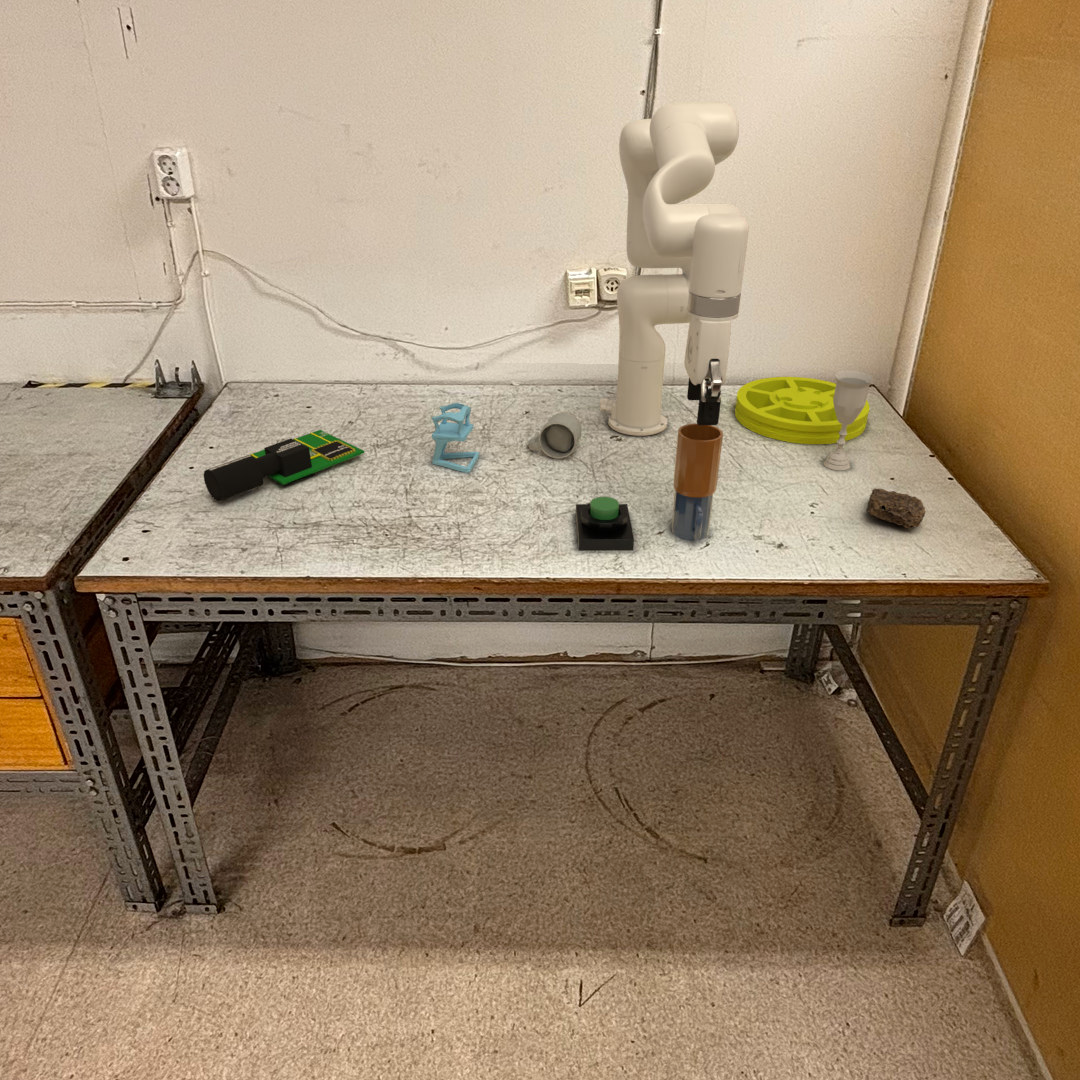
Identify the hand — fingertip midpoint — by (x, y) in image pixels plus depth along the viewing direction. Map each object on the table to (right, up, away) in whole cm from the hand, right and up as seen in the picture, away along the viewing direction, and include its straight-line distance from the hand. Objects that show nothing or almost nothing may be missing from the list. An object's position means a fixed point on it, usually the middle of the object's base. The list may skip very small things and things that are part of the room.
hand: (701, 411), depth 136 cm
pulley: (+31, +6, +53) cm, 62 cm away
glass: (0, -12, +7) cm, 13 cm away
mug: (0, -20, +10) cm, 22 cm away
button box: (-15, -19, +11) cm, 26 cm away
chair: (-42, -5, +34) cm, 55 cm away
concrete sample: (+36, -17, +15) cm, 43 cm away
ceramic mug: (-23, -2, +39) cm, 45 cm away
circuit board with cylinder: (-76, -7, +31) cm, 82 cm away
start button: (-15, -16, +9) cm, 23 cm away
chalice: (+33, -6, +33) cm, 47 cm away
